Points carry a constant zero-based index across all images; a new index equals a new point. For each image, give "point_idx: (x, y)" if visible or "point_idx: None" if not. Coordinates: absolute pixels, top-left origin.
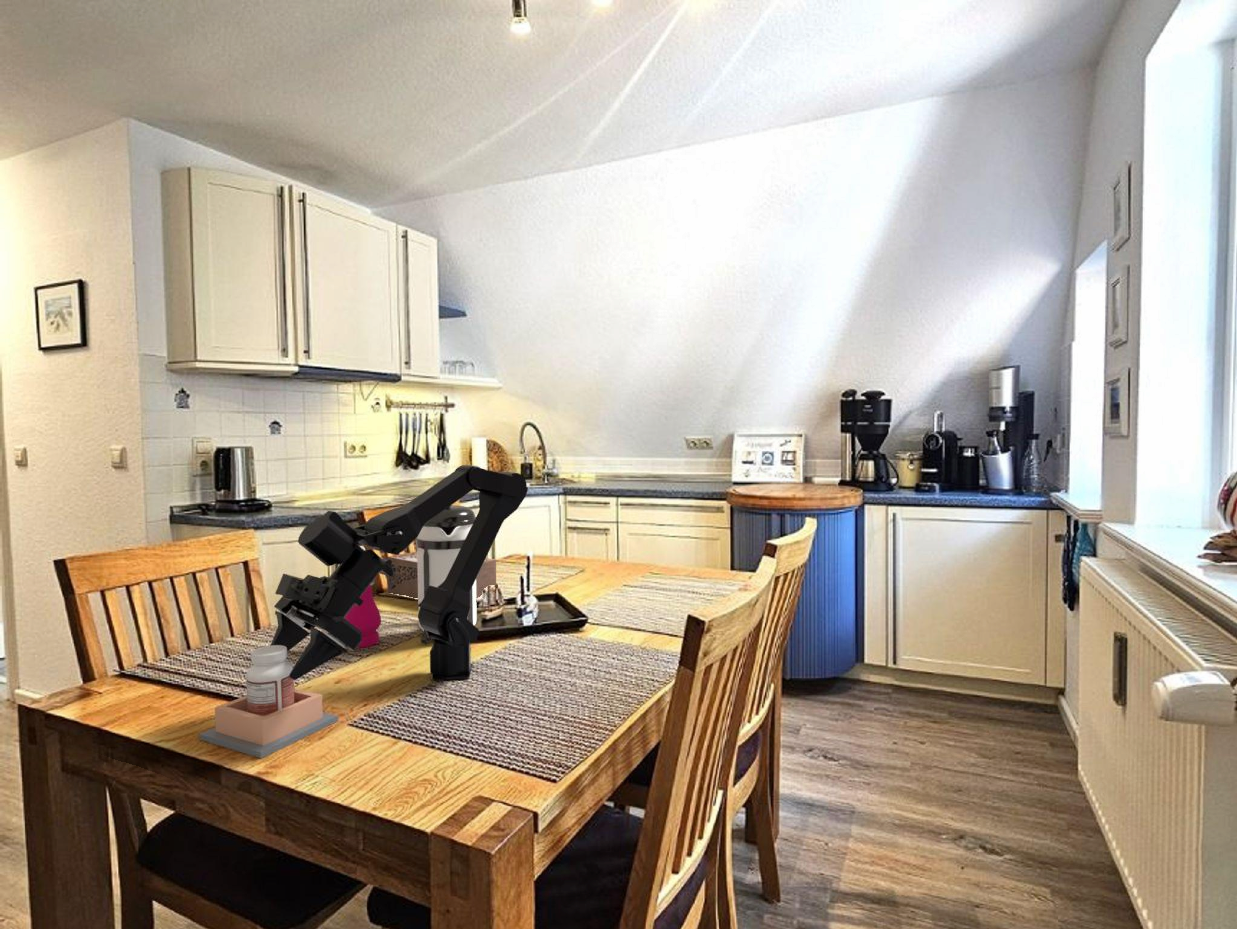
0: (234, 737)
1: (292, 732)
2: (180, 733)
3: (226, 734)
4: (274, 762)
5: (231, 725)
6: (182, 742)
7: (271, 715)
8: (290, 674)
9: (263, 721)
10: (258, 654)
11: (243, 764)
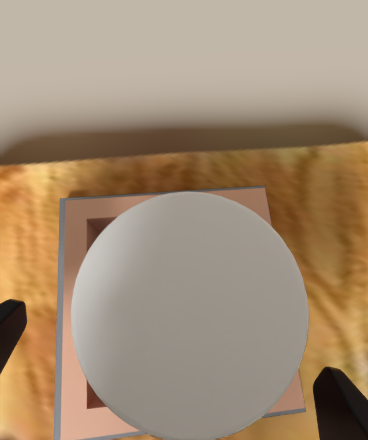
0: None
1: None
2: (320, 187)
3: None
4: (23, 206)
5: None
6: (273, 168)
7: (73, 234)
8: (6, 302)
9: (65, 203)
10: (173, 208)
11: (76, 172)
